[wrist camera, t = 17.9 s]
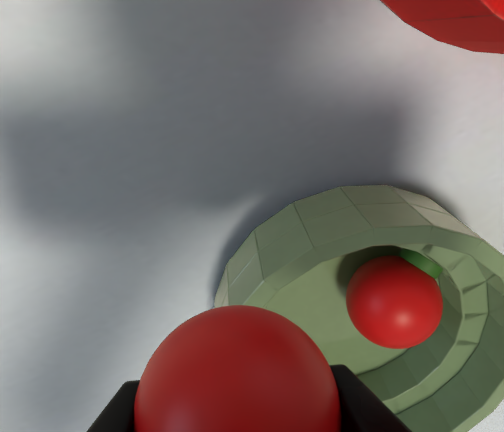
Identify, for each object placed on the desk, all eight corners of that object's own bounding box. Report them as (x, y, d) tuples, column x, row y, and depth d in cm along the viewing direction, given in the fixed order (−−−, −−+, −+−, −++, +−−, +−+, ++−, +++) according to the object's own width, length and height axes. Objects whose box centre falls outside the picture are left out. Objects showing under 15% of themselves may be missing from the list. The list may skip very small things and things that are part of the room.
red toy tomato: (210, 417, 12) (208, 643, 7) (114, 321, 10) (36, 545, 6) (340, 351, 11) (422, 557, 7) (262, 237, 9) (305, 415, 5)
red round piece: (395, 375, 16) (465, 280, 16) (315, 307, 19) (373, 223, 18) (414, 365, 20) (471, 288, 19) (345, 309, 22) (394, 239, 22)
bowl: (219, 401, 25) (221, 484, 20) (209, 185, 19) (207, 234, 14) (440, 385, 26) (488, 459, 21) (499, 176, 20) (584, 219, 15)
